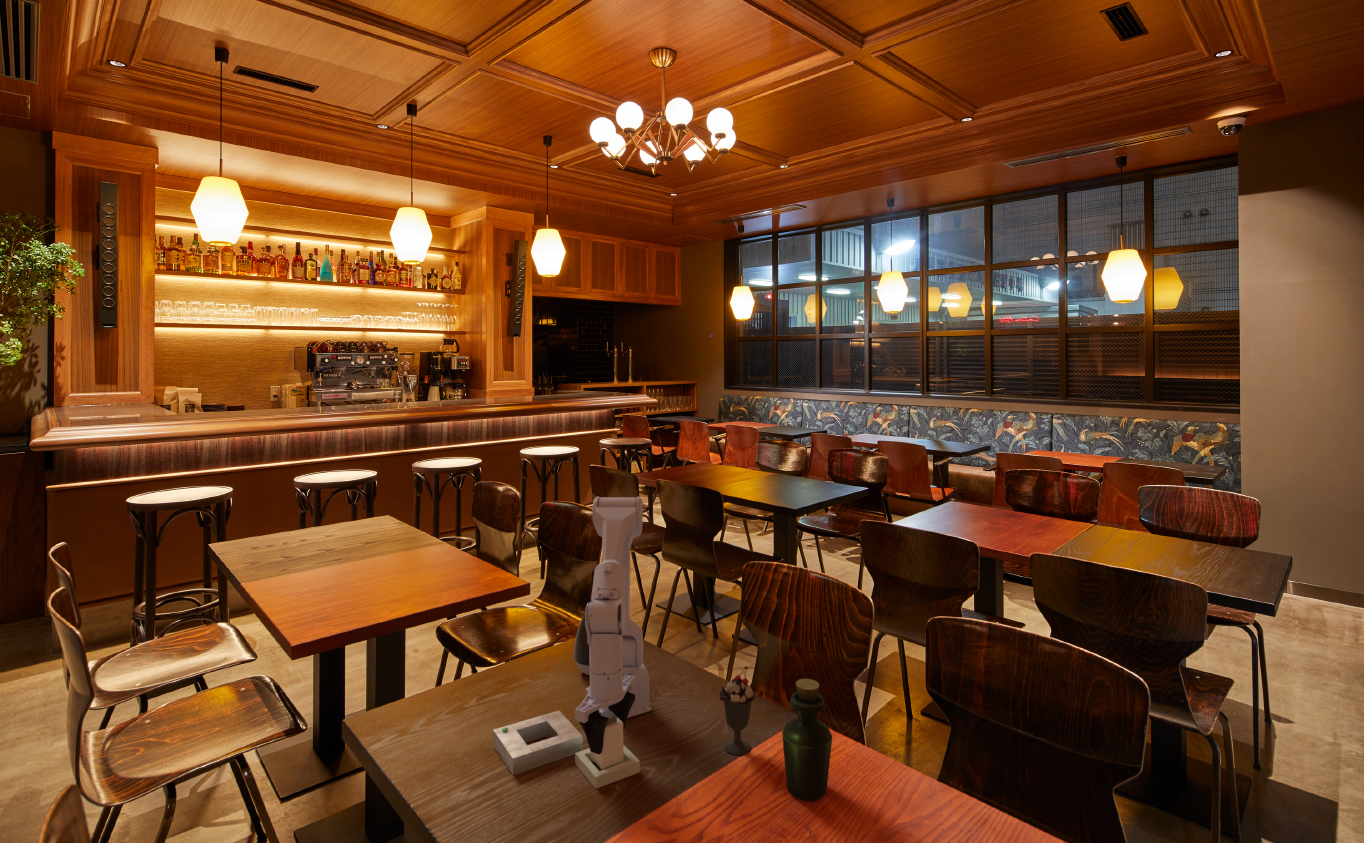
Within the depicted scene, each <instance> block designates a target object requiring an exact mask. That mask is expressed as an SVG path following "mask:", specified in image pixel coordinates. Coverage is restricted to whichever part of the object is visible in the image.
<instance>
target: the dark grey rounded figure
mask: <svg viewBox="0 0 1364 843" xmlns="http://www.w3.org/2000/svg"><path fill="white" fill-rule="evenodd" d="M585 613H586V611H584V614H583V616H582V617H581V620H580V622H579V625H578V629H577V632H576V635H575V641H574V647H573V660H574V661H575V664H576V666H577V668H578V670H579V671H580V672H582V673H583V674H585V675H586V676H590V662H589V644H588V642H587V632H586V626H585Z"/></svg>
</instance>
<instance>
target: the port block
mask: <svg viewBox="0 0 1364 843" xmlns="http://www.w3.org/2000/svg"><path fill="white" fill-rule="evenodd" d="M492 730H493V732H492V733H493V734H492V735H493V739H492V740H493V747H494V748H495V750H496V752H497V753H498V755H500V757H501V759H502V760H503V763H504V764H505V763H506V764H505V765H506V767H507V768H508V770H509V771H510V772H511V774H512V776H515V775H518V774H521V773H525V772H527V771H531V770H533V769H536V768H539V767H542V766H545V765H548V764H550V763H554V762H556V761H560V760H562V759H565V758H568V757H570V756H573V755H574V756H575V753H577V752H580V751H583V750H584V749H583V745H584V744H583V735H582V734H581V732H580V731H579V730H578V729H577V728H576V727H575V726H574V725H573V724H572V723H571V721H569V719H568V718H567V717H566V716H565V715H564V714H563V713H562V712H561V711H560V710H556V711H552V712H549V713H545V714H542V715H539V716H536V717H532V718H528V719H526V720H522V721H518V722H515V723H512V724H508V725H505V726H502V727H498V728H494V729H492ZM542 737H543V738H545V737H547V739H543V740H541V741H537V742H533V743H530V742H532V740H533V741H535V739H537V740H539V739H538V738H540V739H542ZM529 741H530V742H529ZM526 742H527V743H530V744H527V743H526Z"/></svg>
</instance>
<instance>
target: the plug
mask: <svg viewBox="0 0 1364 843" xmlns="http://www.w3.org/2000/svg"><path fill="white" fill-rule="evenodd" d="M601 716H604V717H607V718H609V719H608V722H607V724H606V727H605V732H604V741H603V750H602V753H601V754H596V753H593V752H591V758H592V759H593V760H594V761H595V762H594V763H595V764H597V766H598V767H599V768H600V770H604V769H607V768H610V767H612V766H615V765H618V764H621V763H622V762H623V745H624V734H623V722H622V721H621V720H620V719H619V718H618V717H617V716H616V715H615V714H614V713H613V712H611V711H610V710H609V711H606V712H602V713H601Z"/></svg>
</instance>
